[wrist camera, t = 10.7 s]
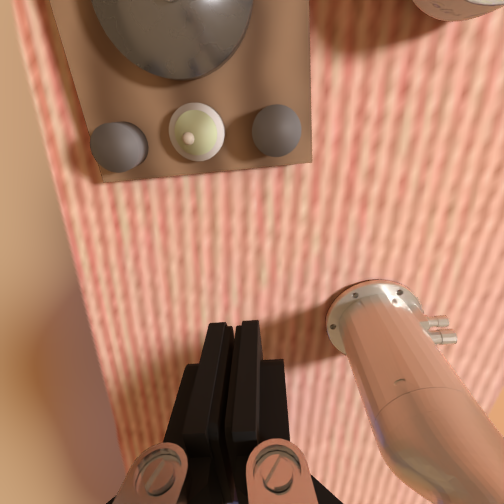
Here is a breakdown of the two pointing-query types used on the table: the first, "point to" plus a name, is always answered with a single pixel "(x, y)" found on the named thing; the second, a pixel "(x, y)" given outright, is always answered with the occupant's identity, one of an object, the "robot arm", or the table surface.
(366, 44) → the table surface
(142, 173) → the levelling base
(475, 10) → the teacup
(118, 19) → the silver metal dome
